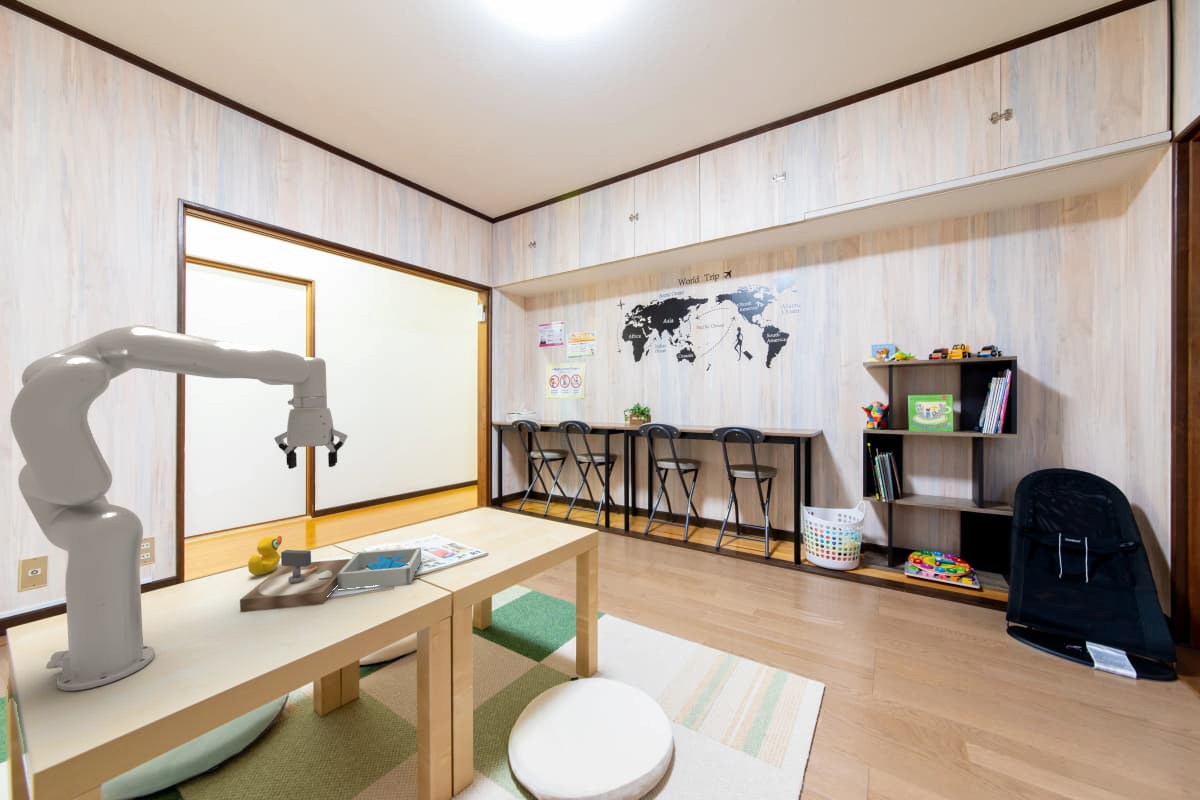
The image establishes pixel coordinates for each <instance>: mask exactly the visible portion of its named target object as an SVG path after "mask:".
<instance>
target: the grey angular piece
mask: <svg viewBox="0 0 1200 800" xmlns="http://www.w3.org/2000/svg"><path fill="white" fill-rule="evenodd" d="M280 560H281V561H280V562H281V566H292V574H293V576H291V577H289V578H288V582H289V583H297V582H300V581H303V580H304V579H305V575H307V574H309V573H311V572H313V571H315V570H317V569H318V567H314V568H313V569H311V570H309V571H307V572H305V573H303V574H301V567H307V566H308V565H310V564H311V562H312V551H311V550H302V549H301V550H297V549H286V550H283V551H281V552H280Z"/></svg>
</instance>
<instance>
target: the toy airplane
mask: <svg viewBox="0 0 1200 800" xmlns="http://www.w3.org/2000/svg"><path fill="white" fill-rule="evenodd" d="M401 557H403V555H401V556H396V557H395V558H393V559H392V558H389V559H388V558H386V559H384V557H383V556H378V558H379V560H380V561H381V562H376V563H370V564H367V566H366V567H368V568H367V569H368V570H377V569H389V568H401V567H406V566H405V565H407V564H406V563H403V562H395V561H396V560H398V559H400V558H401Z"/></svg>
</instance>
